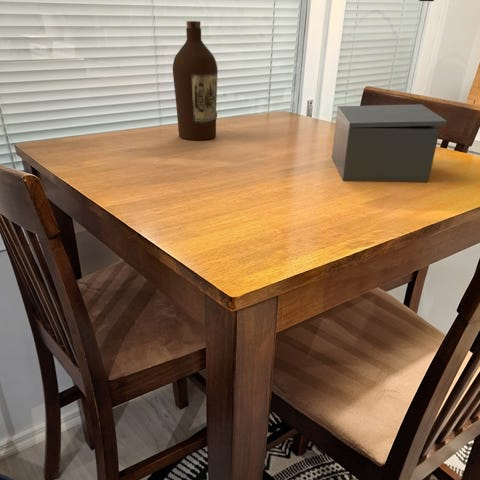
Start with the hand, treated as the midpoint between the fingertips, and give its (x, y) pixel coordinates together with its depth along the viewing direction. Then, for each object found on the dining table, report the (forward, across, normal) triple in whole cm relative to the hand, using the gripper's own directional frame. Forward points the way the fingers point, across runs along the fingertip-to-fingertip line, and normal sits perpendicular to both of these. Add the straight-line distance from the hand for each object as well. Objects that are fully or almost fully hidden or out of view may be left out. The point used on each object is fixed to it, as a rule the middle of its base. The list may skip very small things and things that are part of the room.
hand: (426, 1), depth 104 cm
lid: (+19, +21, -9) cm, 30 cm away
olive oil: (+30, -5, -50) cm, 58 cm away
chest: (+29, +21, -10) cm, 37 cm away
